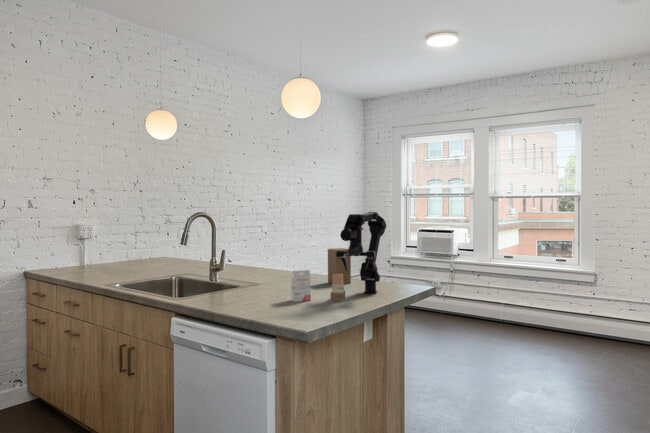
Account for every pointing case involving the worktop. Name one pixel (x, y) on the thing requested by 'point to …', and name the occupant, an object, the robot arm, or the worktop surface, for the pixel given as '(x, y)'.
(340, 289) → the tower middle
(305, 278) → the ink cartridge box
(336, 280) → the terracotta block
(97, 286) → the worktop surface
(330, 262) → the wooden block
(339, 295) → the tower base
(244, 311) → the worktop surface
